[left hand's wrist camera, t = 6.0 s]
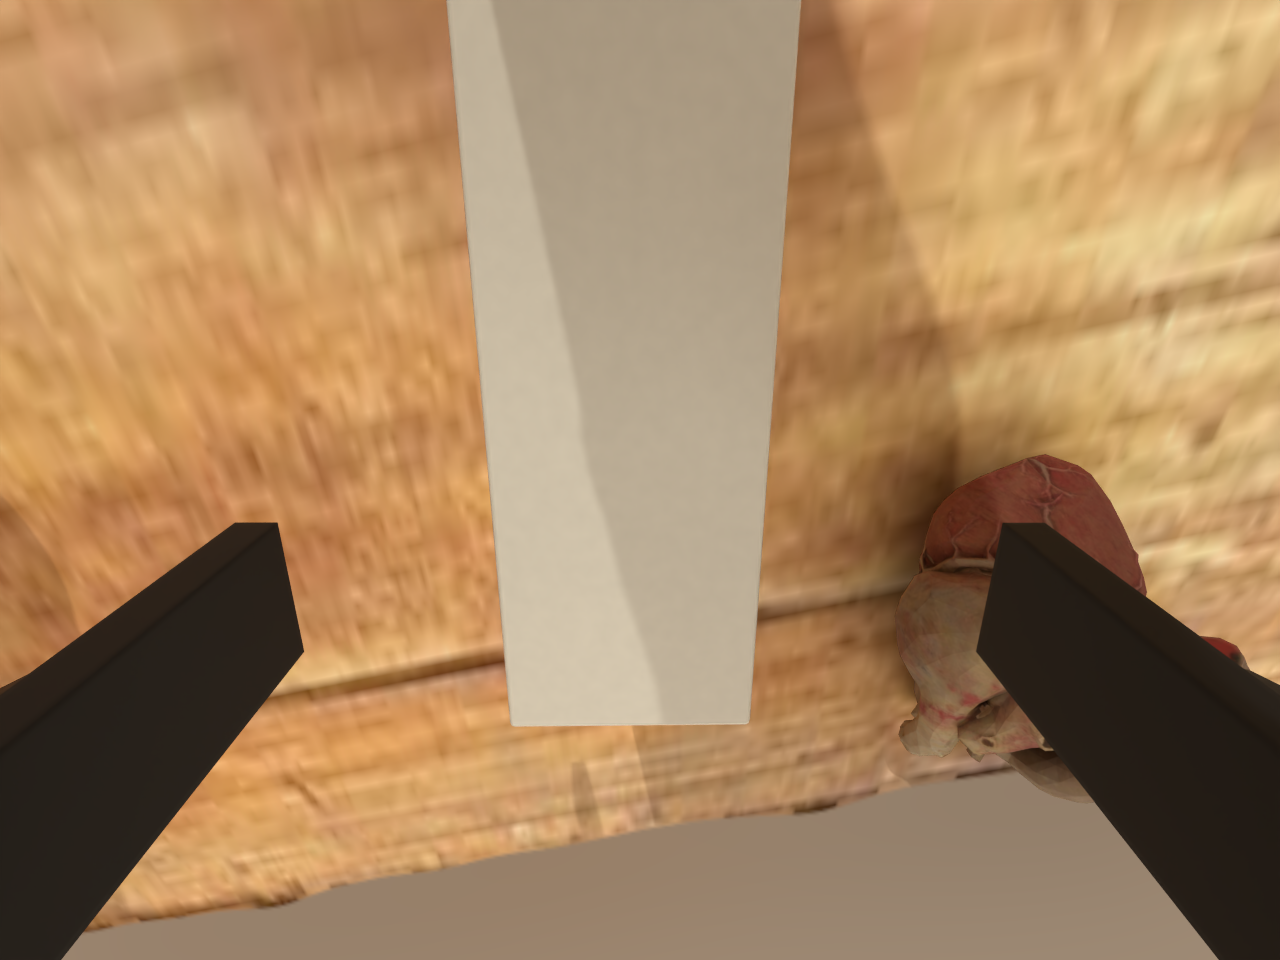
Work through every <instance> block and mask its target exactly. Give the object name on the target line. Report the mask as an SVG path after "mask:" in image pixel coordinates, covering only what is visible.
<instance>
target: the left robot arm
mask: <svg viewBox="0 0 1280 960" xmlns="http://www.w3.org/2000/svg"><path fill="white" fill-rule="evenodd" d="M303 652H304V649H303V644H302V639H301V634H300V629H299V625H298V620H297V615H296V610H295V605H294V600H293V596H292V591H291V586H290V581H289V576H288V571H287V566H286V562H285V557H284V552H283V547H282V542H281V537H280V533H279V528H278V523H234V524H233V525H231V526H230V527H229V528H227V529H226V530H224V531H223V532H222V533H220V534H219V535H218V536H216V537H215V538H214V539H212V540H211V541H209V542H208V543H207V544H205V545H204V546H203V547H201V548H200V549H199V550H197V551H196V552H194V553H193V554H192V555H190V556H189V557H188V558H186V559H185V560H184V561H182V562H181V563H179V564H178V565H177V566H175V567H174V568H173V569H171V570H170V571H169V572H167V573H166V574H164V575H163V576H162V577H160V578H159V579H158V580H156V581H155V582H154V583H152V584H151V585H149V586H148V587H147V588H145V589H144V590H143V591H141V592H140V593H139V594H137V595H136V596H134V597H133V598H132V599H130V600H129V601H128V602H126V603H125V604H124V605H122V606H121V607H120V608H118V609H117V610H115V611H114V612H113V613H111V614H110V615H109V616H107V617H106V618H105V619H103V620H102V621H100V622H99V623H98V624H96V625H95V626H94V627H92V628H91V629H90V630H88V631H87V632H85V633H84V634H83V635H81V636H80V637H79V638H77V639H76V640H75V641H73V642H72V643H70V644H69V645H68V646H66V647H65V648H64V649H62V650H61V651H60V652H58V653H57V654H55V655H54V656H53V657H51V658H50V659H49V660H47V661H46V662H45V663H43V664H42V665H40V666H39V667H38V668H36V669H35V670H34V671H32V672H31V673H30V674H28V675H26V676H24V677H22V678H20V679H18V680H16V681H14V682H12V683H10V684H8V685H6V686H4V687H2V688H0V960H61V959H62V958H63V957H64V955H65V954H66V953H67V952H68V950H69V949H70V948H71V947H72V945H73V944H74V943H75V941H76V940H77V939H78V938H79V936H80V935H81V934H82V933H83V931H84V930H85V929H86V928H87V926H88V925H89V924H90V923H91V921H92V920H93V919H94V917H95V916H96V915H97V914H98V912H99V911H100V910H101V909H102V907H103V906H104V905H105V903H106V902H107V901H108V900H109V898H110V897H111V896H112V895H113V893H114V892H115V891H116V890H117V888H118V887H119V886H120V884H121V883H122V882H123V881H124V879H125V878H126V877H127V876H128V874H129V873H130V872H131V871H132V869H133V868H134V867H135V865H136V864H137V863H138V862H139V860H140V859H141V858H142V857H143V855H144V854H145V853H146V851H147V850H148V849H149V848H150V846H151V845H152V844H153V843H154V841H155V840H156V839H157V838H158V836H159V835H160V834H161V832H162V831H163V830H164V829H165V827H166V826H167V825H168V824H169V822H170V821H171V820H172V818H173V817H174V816H175V815H176V813H177V812H178V811H179V810H180V808H181V807H182V806H183V805H184V803H185V802H186V801H187V799H188V798H189V797H190V796H191V794H192V793H193V792H194V791H195V789H196V788H197V787H198V786H199V784H200V783H201V782H202V780H203V779H204V778H205V777H206V775H207V774H208V773H209V772H210V770H211V769H212V768H213V766H214V765H215V764H216V763H217V761H218V760H219V759H220V758H221V756H222V755H223V754H224V753H225V751H226V750H227V749H228V747H229V746H230V745H231V744H232V742H233V741H234V740H235V739H236V737H237V736H238V735H239V734H240V732H241V731H242V730H243V728H244V727H245V726H246V725H247V723H248V722H249V721H250V720H251V718H252V717H253V716H254V714H255V713H256V712H257V711H258V709H259V708H260V707H261V706H262V704H263V703H264V702H265V701H266V699H267V698H268V697H269V695H270V694H271V693H272V692H273V690H274V689H275V688H276V687H277V685H278V684H279V683H280V682H281V680H282V679H283V678H284V676H285V675H286V674H287V673H288V671H289V670H290V669H291V668H292V666H293V665H294V664H295V662H296V661H297V660H298V659H299V657H300V656H301V655H302V654H303ZM976 652H977V654H978V655H979V656H980V657H981V659H982V660H983V661H984V662H985V664H986V665H987V666H988V668H989V669H990V670H991V671H992V673H993V674H994V675H995V676H996V678H997V679H998V680H999V682H1000V683H1001V684H1002V685H1003V687H1004V688H1005V689H1006V690H1007V692H1008V693H1009V694H1010V695H1011V697H1012V698H1013V699H1014V701H1015V702H1016V703H1017V704H1018V706H1019V707H1020V708H1021V709H1022V711H1023V712H1024V713H1025V714H1026V716H1027V717H1028V718H1029V720H1030V721H1031V722H1032V723H1033V725H1034V726H1035V727H1036V728H1037V730H1038V731H1039V732H1040V734H1041V735H1042V736H1043V737H1044V739H1045V740H1046V741H1047V742H1048V744H1049V745H1050V746H1051V747H1052V749H1053V750H1054V751H1055V753H1056V754H1057V755H1058V756H1059V758H1060V759H1061V760H1062V761H1063V763H1064V764H1065V765H1066V766H1067V768H1068V769H1069V770H1070V772H1071V773H1072V774H1073V775H1074V777H1075V778H1076V779H1077V780H1078V782H1079V783H1080V784H1081V786H1082V787H1083V788H1084V789H1085V791H1086V792H1087V793H1088V794H1089V796H1090V797H1091V798H1092V799H1093V801H1094V802H1095V803H1096V805H1097V806H1098V807H1099V808H1100V810H1101V811H1102V812H1103V813H1104V815H1105V816H1106V817H1107V818H1108V820H1109V821H1110V822H1111V824H1112V825H1113V826H1114V827H1115V829H1116V830H1117V831H1118V832H1119V834H1120V835H1121V836H1122V838H1123V839H1124V840H1125V841H1126V843H1127V844H1128V845H1129V846H1130V848H1131V849H1132V850H1133V851H1134V853H1135V854H1136V855H1137V857H1138V858H1139V859H1140V860H1141V862H1142V863H1143V864H1144V865H1145V867H1146V868H1147V869H1148V871H1149V872H1150V873H1151V874H1152V876H1153V877H1154V878H1155V879H1156V881H1157V882H1158V883H1159V884H1160V886H1161V887H1162V888H1163V890H1164V891H1165V892H1166V893H1167V894H1168V896H1169V897H1170V898H1171V900H1172V901H1173V902H1174V903H1175V905H1176V906H1177V907H1178V909H1179V910H1180V911H1181V912H1182V914H1183V915H1184V916H1185V917H1186V919H1187V920H1188V921H1189V922H1190V924H1191V925H1192V926H1193V928H1194V929H1195V930H1196V931H1197V933H1198V934H1199V935H1200V936H1201V938H1202V939H1203V940H1204V941H1205V943H1206V944H1207V945H1208V946H1209V948H1210V949H1211V950H1212V952H1213V953H1214V954H1215V955H1216V957H1217V958H1218V959H1219V960H1280V685H1278V684H1276V683H1274V682H1272V681H1270V680H1268V679H1266V678H1264V677H1262V676H1260V675H1258V674H1256V673H1254V672H1252V671H1250V670H1248V669H1244V668H1242V667H1241V666H1240V665H1238V664H1237V663H1235V662H1234V661H1233V660H1231V659H1230V658H1229V657H1227V656H1226V655H1225V654H1223V653H1222V652H1220V651H1219V650H1218V649H1216V648H1215V647H1214V646H1212V645H1211V644H1210V643H1208V642H1207V641H1205V640H1204V639H1203V638H1201V637H1200V636H1199V635H1197V634H1196V633H1195V632H1193V631H1192V630H1190V629H1189V628H1188V627H1186V626H1185V625H1184V624H1182V623H1181V622H1180V621H1178V620H1177V619H1175V618H1174V617H1173V616H1171V615H1170V614H1169V613H1167V612H1166V611H1165V610H1163V609H1162V608H1160V607H1159V606H1158V605H1156V604H1155V603H1154V602H1152V601H1151V600H1150V599H1148V598H1147V597H1146V596H1144V595H1143V594H1141V593H1140V592H1139V591H1137V590H1136V589H1135V588H1133V587H1132V586H1131V585H1129V584H1128V583H1126V582H1125V581H1124V580H1122V579H1121V578H1120V577H1118V576H1117V575H1116V574H1114V573H1113V572H1111V571H1110V570H1109V569H1107V568H1106V567H1105V566H1103V565H1102V564H1101V563H1099V562H1098V561H1096V560H1095V559H1094V558H1092V557H1091V556H1090V555H1088V554H1087V553H1086V552H1084V551H1083V550H1081V549H1080V548H1079V547H1077V546H1076V545H1075V544H1073V543H1072V542H1071V541H1069V540H1068V539H1066V538H1065V537H1064V536H1062V535H1061V534H1060V533H1058V532H1057V531H1056V530H1054V529H1053V528H1051V527H1050V526H1049V525H1047V524H1046V523H1002V528H1001V533H1000V537H999V542H998V547H997V552H996V557H995V562H994V566H993V571H992V576H991V581H990V586H989V591H988V596H987V600H986V605H985V610H984V615H983V620H982V625H981V629H980V634H979V639H978V644H977V649H976Z"/></svg>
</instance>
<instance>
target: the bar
mask: <svg viewBox="0 0 1280 960" xmlns="http://www.w3.org/2000/svg"><path fill="white" fill-rule="evenodd" d="M446 3H447V14H448V26H449V37H450V48H451V59H452V71H453V82H454V93H455V105H456V116H457V127H458V138H459V150H460V161H461V172H462V183H463V195H464V206H465V217H466V229H467V240H468V251H469V262H470V274H471V285H472V296H473V308H474V319H475V330H476V341H477V353H478V364H479V375H480V387H481V398H482V409H483V420H484V432H485V443H486V454H487V465H488V477H489V488H490V499H491V511H492V522H493V533H494V544H495V556H496V567H497V578H498V590H499V601H500V612H501V623H502V635H503V646H504V657H505V669H506V680H507V691H508V702H509V714H510V722H511V725H512V726H610V725H716V724H748V723H749V720H750V710H751V696H752V682H753V668H754V654H755V640H756V626H757V612H758V598H759V584H760V570H761V556H762V542H763V528H764V514H765V500H766V486H767V472H768V458H769V444H770V430H771V416H772V402H773V388H774V374H775V360H776V346H777V332H778V318H779V304H780V290H781V276H782V262H783V248H784V234H785V220H786V206H787V192H788V178H789V164H790V150H791V136H792V122H793V108H794V94H795V80H796V66H797V52H798V38H799V24H800V10H801V0H446Z"/></svg>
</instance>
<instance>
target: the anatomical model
mask: <svg viewBox="0 0 1280 960" xmlns="http://www.w3.org/2000/svg"><path fill="white" fill-rule="evenodd" d="M1002 523H1046V524H1047V525H1049V526H1050V527H1051V528H1053V529H1054V530H1056V531H1057V532H1058V533H1060V534H1061V535H1062V536H1064V537H1065V538H1066V539H1068V540H1069V541H1071V542H1072V543H1073V544H1075V545H1076V546H1077V547H1079V548H1080V549H1081V550H1083V551H1084V552H1086V553H1087V554H1088V555H1090V556H1091V557H1092V558H1094V559H1095V560H1096V561H1098V562H1099V563H1101V564H1102V565H1103V566H1105V567H1106V568H1107V569H1109V570H1110V571H1111V572H1113V573H1114V574H1116V575H1117V576H1118V577H1120V578H1121V579H1122V580H1124V581H1125V582H1126V583H1128V584H1129V585H1131V586H1132V587H1133V588H1135V589H1136V590H1137V591H1139V592H1140V593H1141V594H1143V595H1144V596H1146V593H1147V591H1146V586H1145V581H1144V577H1143V574H1142V571H1141V569H1140V566H1139V563H1138V554H1137V553H1136V552H1135V551H1134V549H1133V547H1132V545H1131V543H1130V540H1129V538H1128V536H1127V533H1126V531H1125V529H1124V527H1123V525H1122V523H1121V521H1120V519H1119V517H1118V515H1117V513H1116V511H1115V509H1114V507H1113V505H1112V503H1111V501H1110V500H1109V499H1108V497H1107V496H1106V494H1105V493H1104V492H1103V490H1102V489H1101V487H1100V486H1099V485H1098V483H1097V482H1096V481H1095V479H1094V478H1093V476H1092V475H1091V474H1090V473H1088V472H1087V471H1085V470H1084V469H1082V468H1081V467H1079V466H1078V465H1075V464H1072V463H1069V462H1066V461H1063V460H1060V459H1057V458H1054V457H1051V456H1049V455H1046V454H1044V455H1040V456H1035V457H1031V458H1027V459H1024V460H1022V461H1019V462H1016V463H1014V464H1011V465H1009V466H1006V467H1004V468H1001V469H998V470H996V471H993V472H991V473H988V474H985V475H983V476H981V477H979V478H977V479H975V480H973V481H971V482H969V483H967V484H965V485H963V486H961V487H959V488H958V489H957V490H955V491H954V492H953V493H952V494H951V495H949V496H948V497H947V498H946V499H945V500H944V501H943V502H942V503H941V504H940V506H939V507H938V508H937V510H936V511H935V513H934V514H933V517H932V520H931V523H930V526H929V529H928V532H927V535H926V539H925V544H924V549H923V552H922V554H921V556H920V559H919V561H920V573H919V574H918V575H915V576H914V577H913V579H912V581H911V582H910V584H909V585H908V587H907V588H906V590H905V591H904V593H903V595H902V596H901V598H900V601H899V604H898V607H897V610H896V614H895V622H896V633H897V645H898V649H899V653H900V656H901V658H902V660H903V662H904V664H905V665H906V667H907V669H908V671H909V673H910V674H911V676H912V678H913V679H914V692H915V696H916V699H917V703H918V704H917V706H916V707H915V709H914V710H913V711H912V713H911V714H912V715H913V716H914V719H913V720H906V721H904V722H903V724H902V725H901V726H900V731H899V737H900V739H901V742H902V743H903V745H904V746H905V748H906V749H907V750H908V751H909V752H910V753H912V754H915V755H918V756H929V755H937V756H939V757H941V758H942V757H944V756H946V755H947V754H949V753H950V752H951V751H952V750H953V748H954V747H955V745H956V744H957V742H958V741H959V740H960V741H961V742H962V743H963V744H964V745H965V746H966V747H967V752H968V753H969V755H970V756H971V757H972V758H974V759H975V760H977V761H978V762H980V761H981V759H982V758H983V756H984V755H985V754H996V755H998V756H999V757H1001V758H1002V759H1004V760H1005V761H1007V762H1008V763H1009V764H1010V765H1011V766H1012V767H1013V768H1015V769H1016V770H1017V771H1018V772H1019V773H1020V774H1021V775H1023V776H1024V777H1025V778H1026V779H1027V780H1029V781H1030V782H1031V783H1032V784H1034V785H1035V786H1036V787H1037V788H1039V789H1040V790H1042V791H1044V792H1046V793H1048V794H1050V795H1052V796H1054V797H1058V798H1062V799H1066V800H1070V801H1074V802H1079V803H1093V802H1094V801H1093V799H1092V798H1091V797H1090V796H1089V794H1088V793H1087V792H1086V791H1085V789H1084V788H1083V787H1082V786H1081V784H1080V783H1079V782H1078V780H1077V779H1076V778H1075V777H1074V775H1073V774H1072V773H1071V772H1070V770H1069V769H1068V768H1067V766H1066V765H1065V764H1064V763H1063V761H1062V760H1061V759H1060V758H1059V756H1058V755H1057V754H1056V753H1055V751H1054V750H1053V749H1052V747H1051V746H1050V745H1049V744H1048V742H1047V741H1046V740H1045V739H1044V737H1043V736H1042V735H1041V734H1040V732H1039V731H1038V730H1037V728H1036V727H1035V726H1034V725H1033V723H1032V722H1031V721H1030V720H1029V718H1028V717H1027V716H1026V714H1025V713H1024V712H1023V711H1022V709H1021V708H1020V707H1019V706H1018V704H1017V703H1016V702H1015V701H1014V699H1013V698H1012V697H1011V695H1010V694H1009V693H1008V692H1007V690H1006V689H1005V688H1004V687H1003V685H1002V684H1001V683H1000V682H999V680H998V679H997V678H996V676H995V675H994V674H993V673H992V671H991V670H990V669H989V668H988V666H987V665H986V664H985V662H984V661H983V660H982V659H981V657H980V656H979V655H978V654H977V652H976V649H977V644H978V639H979V634H980V629H981V625H982V620H983V615H984V610H985V605H986V600H987V596H988V591H989V586H990V581H991V576H992V571H993V566H994V562H995V557H996V552H997V547H998V542H999V537H1000V533H1001V528H1002ZM1200 637H1201V638H1203V639H1204V640H1205V641H1207V642H1208V643H1210V644H1211V645H1212V646H1214V647H1215V648H1216V649H1218V650H1219V651H1220V652H1222V653H1223V654H1225V655H1226V656H1227V657H1229V658H1230V659H1231V660H1233V661H1234V662H1235V663H1237V664H1238V665H1240V666H1241V667H1242V668H1244V669H1248V670H1250V669H1249V667H1248V666H1247V663H1246V660H1245V658H1244V656H1243V655H1242V653H1241V652H1240V650H1239V649H1238V647H1237V646H1236V645H1234V644H1231V643H1229V642H1227V641H1225V640H1223V639H1221V638H1215V637H1204V636H1200Z"/></svg>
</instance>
